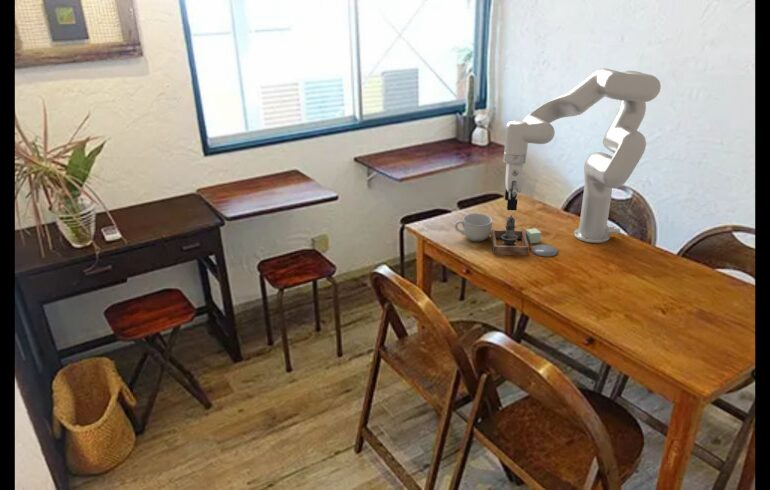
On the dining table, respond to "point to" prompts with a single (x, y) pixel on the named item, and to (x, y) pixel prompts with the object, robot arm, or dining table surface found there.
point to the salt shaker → (509, 233)
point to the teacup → (475, 226)
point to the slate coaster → (544, 250)
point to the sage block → (533, 235)
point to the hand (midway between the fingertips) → (510, 204)
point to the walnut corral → (510, 249)
